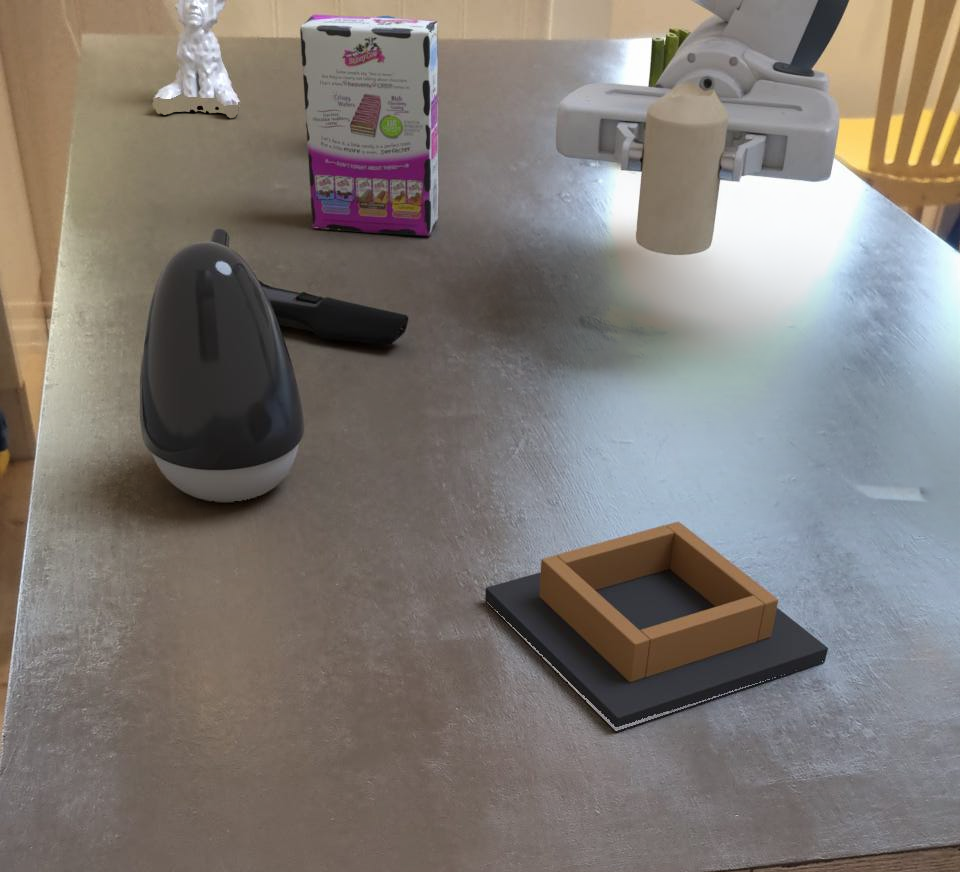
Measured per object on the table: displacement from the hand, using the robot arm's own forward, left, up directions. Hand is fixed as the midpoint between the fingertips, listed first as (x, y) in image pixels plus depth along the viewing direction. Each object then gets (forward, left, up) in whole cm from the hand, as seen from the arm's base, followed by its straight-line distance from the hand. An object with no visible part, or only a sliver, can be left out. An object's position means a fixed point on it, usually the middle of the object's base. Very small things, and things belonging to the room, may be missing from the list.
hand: (681, 164), depth 94 cm
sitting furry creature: (+6, -80, -15) cm, 81 cm away
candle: (-1, -1, -6) cm, 6 cm away
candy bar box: (+5, -38, -15) cm, 41 cm away
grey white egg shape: (+35, +2, -15) cm, 38 cm away
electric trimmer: (+20, -18, -15) cm, 31 cm away
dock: (+20, +29, -15) cm, 39 cm away
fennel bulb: (-30, -43, -15) cm, 54 cm away
